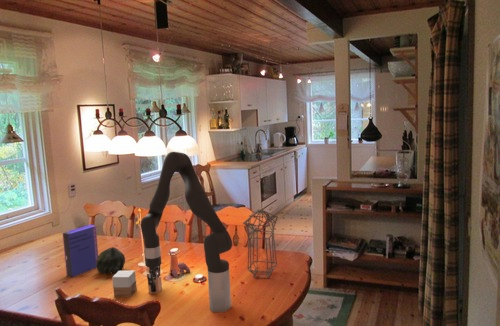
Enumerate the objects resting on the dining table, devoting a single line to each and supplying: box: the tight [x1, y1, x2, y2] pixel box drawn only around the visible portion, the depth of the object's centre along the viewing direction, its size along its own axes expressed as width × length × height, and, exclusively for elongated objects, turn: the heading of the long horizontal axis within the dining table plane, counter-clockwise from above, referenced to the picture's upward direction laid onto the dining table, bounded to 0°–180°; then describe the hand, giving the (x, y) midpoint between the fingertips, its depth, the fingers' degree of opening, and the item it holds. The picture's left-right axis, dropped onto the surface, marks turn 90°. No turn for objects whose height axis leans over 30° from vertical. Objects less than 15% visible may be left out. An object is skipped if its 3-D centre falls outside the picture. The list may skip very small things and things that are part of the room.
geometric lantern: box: [242, 208, 278, 279], centre depth 209 cm, size 16×16×35 cm
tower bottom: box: [112, 280, 137, 298], centre depth 196 cm, size 8×8×5 cm
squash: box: [96, 246, 126, 275], centre depth 223 cm, size 14×15×15 cm
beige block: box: [147, 276, 163, 294], centre depth 197 cm, size 5×5×6 cm
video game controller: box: [170, 262, 191, 278], centre depth 217 cm, size 10×5×7 cm, turn 142°
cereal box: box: [62, 224, 99, 278], centre depth 226 cm, size 17×5×24 cm, turn 149°
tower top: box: [111, 269, 137, 288], centre depth 195 cm, size 8×8×5 cm
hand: (155, 289), depth 197 cm, fingers closed on beige block, 5 cm apart
